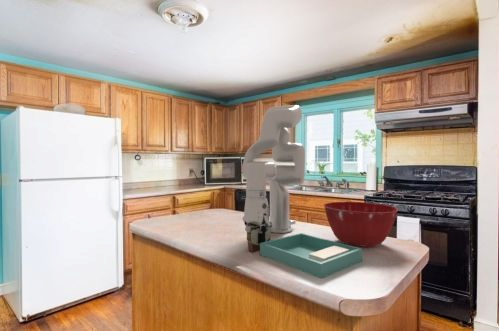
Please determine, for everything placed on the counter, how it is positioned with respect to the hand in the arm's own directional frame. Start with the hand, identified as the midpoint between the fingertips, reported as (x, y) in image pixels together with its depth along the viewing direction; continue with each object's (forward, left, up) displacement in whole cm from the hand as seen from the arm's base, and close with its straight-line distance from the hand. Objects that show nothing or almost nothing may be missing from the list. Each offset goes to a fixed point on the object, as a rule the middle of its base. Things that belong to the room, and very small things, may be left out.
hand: (255, 240), depth 109 cm
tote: (-6, +21, -3) cm, 22 cm away
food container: (0, 0, -3) cm, 3 cm away
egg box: (-6, +29, -2) cm, 30 cm away
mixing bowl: (-38, +21, -3) cm, 44 cm away
